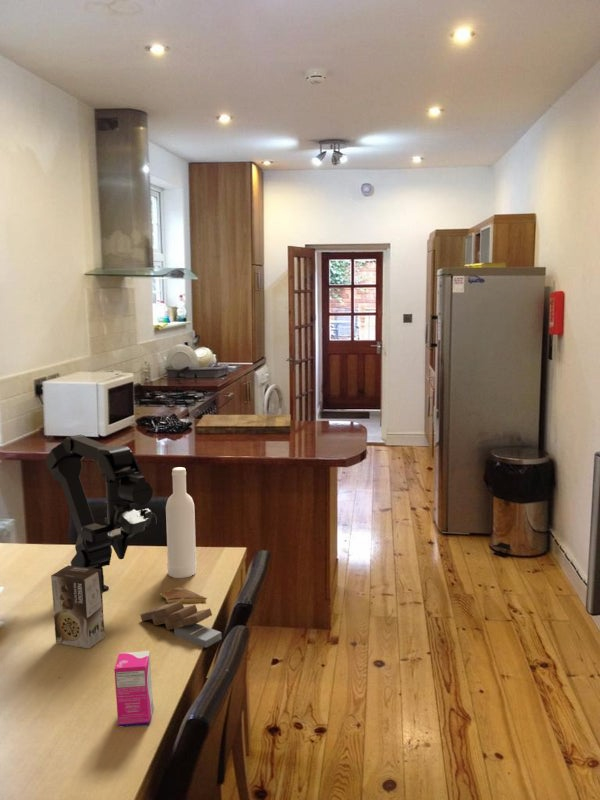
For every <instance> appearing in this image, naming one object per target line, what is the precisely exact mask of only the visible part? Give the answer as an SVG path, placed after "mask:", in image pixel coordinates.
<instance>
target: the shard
mask: <svg viewBox="0 0 600 800" xmlns="http://www.w3.org/2000/svg"><path fill="white" fill-rule="evenodd" d="M160 596H161V598H163V599H165V600H166V605H167V604H171V603H175V602H179V601H182V603H187V604H189V603H203V602H206V600H208V597H204V596H202V595H200V594H198V593H197V592H195V591H191V590H189V589H188V588H187V589H186V588H184V587H174V588H171V589H168V590H165V591H163V592H161V593H160Z"/></svg>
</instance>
